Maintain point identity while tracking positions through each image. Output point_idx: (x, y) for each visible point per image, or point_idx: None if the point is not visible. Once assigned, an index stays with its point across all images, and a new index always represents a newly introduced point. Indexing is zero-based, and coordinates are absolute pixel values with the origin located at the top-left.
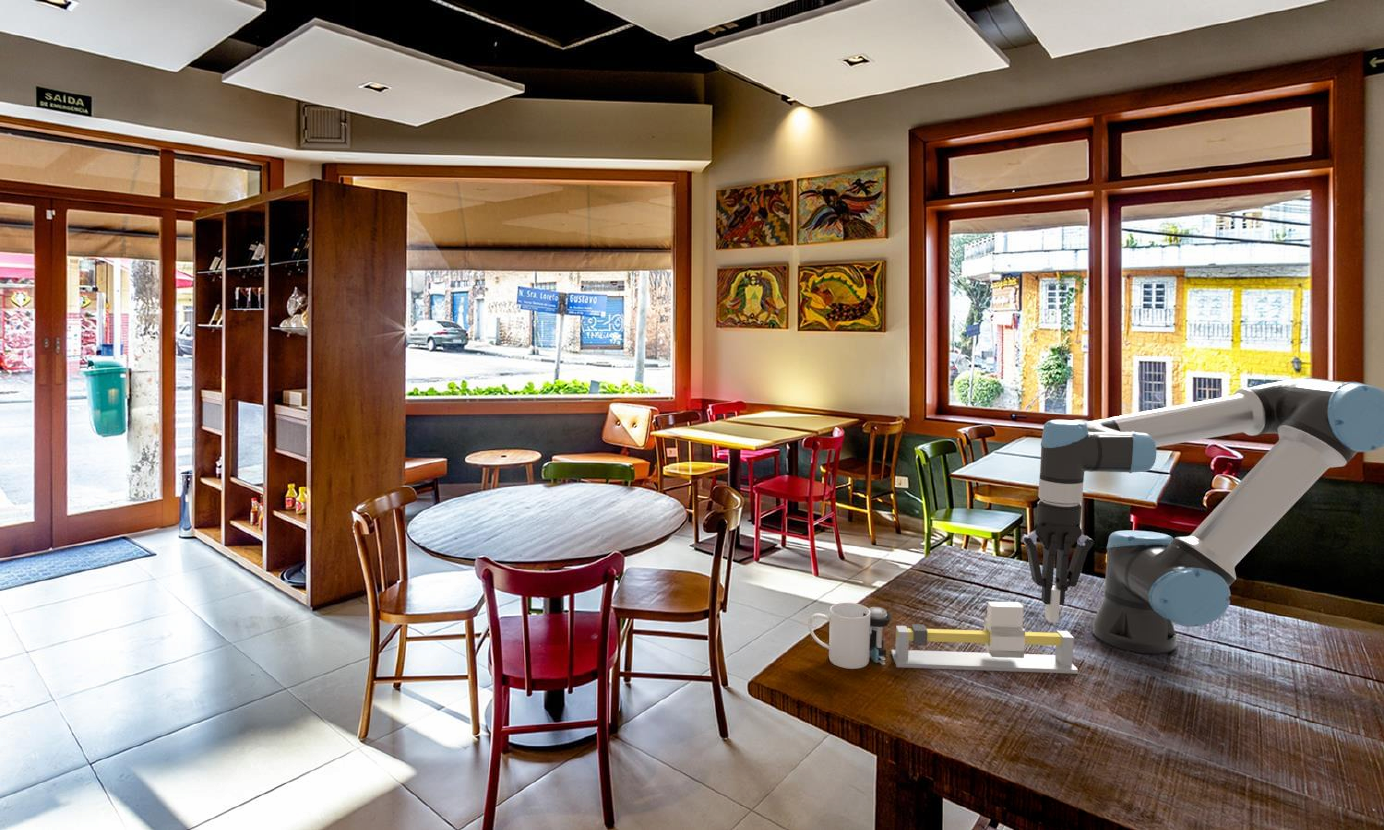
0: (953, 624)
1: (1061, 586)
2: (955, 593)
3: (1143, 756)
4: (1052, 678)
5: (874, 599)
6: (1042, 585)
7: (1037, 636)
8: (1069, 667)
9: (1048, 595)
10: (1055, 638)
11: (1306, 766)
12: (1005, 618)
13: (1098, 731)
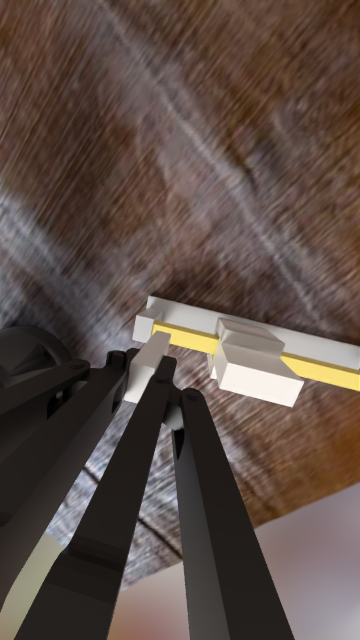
0: (226, 438)
1: (121, 370)
2: (175, 503)
3: (202, 55)
4: (189, 288)
5: (284, 513)
6: (178, 391)
7: (191, 333)
8: (155, 303)
9: (163, 367)
10: (163, 325)
11: (3, 9)
12: (258, 358)
13: (220, 136)
